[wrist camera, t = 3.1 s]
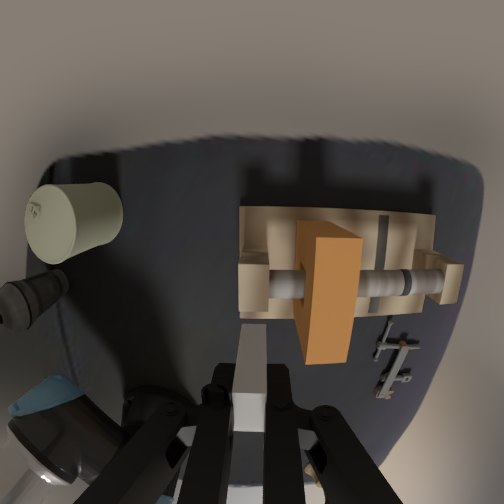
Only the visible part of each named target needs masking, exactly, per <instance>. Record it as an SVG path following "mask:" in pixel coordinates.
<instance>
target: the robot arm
mask: <svg viewBox="0 0 504 504" xmlns="http://www.w3.org/2000/svg"><path fill="white" fill-rule="evenodd" d="M201 396H202V404H200V405H198V406H193V405H192V404H191V403H190V402H189V401H188V400H186V399H185V398H184V397H182V396H180V395H178V394H177V393H175V392H172V391H170V390H167V389H164V388H160V387H155V386H142V387H138V388H135V389H133V390H132V391H131V392H130V393H129V394H128V396H127V397H126V399H125V401H124V404H123V409H122V421H121V427H120V426H119V425H118V424H117V423H116V422H114V421H113V420H112V419H111V418H110V417H109V416H108V415H106V414H105V413H104V412H103V411H102V410H101V409H100V408H99V407H98V406H97V405H96V404H95V403H94V402H93V401H92V400H91V399H90V398H89V397H88V396H87V395H86V394H85V391H83V390H81V389H80V388H79V387H78V386H77V385H76V384H75V383H74V382H73V381H72V380H71V379H70V378H69V377H68V376H66V375H65V374H62V373H55V374H53V375H51V376H50V377H48V378H47V379H46V380H44V381H43V382H41V383H40V384H39V385H38V386H36V387H35V388H33V389H32V390H31V391H29V392H28V393H27V394H25V395H24V396H22V397H21V398H20V399H18V400H17V401H16V402H14V403H13V404H12V405H10V406H9V407H8V412H9V414H10V416H11V417H13V419H12V420H11V421H10V422H9V423H8V424H7V433H8V441H7V442H6V444H5V445H4V446H3V447H2V448H1V449H0V504H41V503H42V502H43V501H44V499H45V498H46V497H47V496H48V494H49V493H50V492H51V491H52V489H53V488H54V487H55V486H56V485H71V484H72V483H73V482H74V481H75V479H76V478H77V477H79V478H80V479H82V480H83V481H85V482H86V483H87V484H89V485H90V486H89V487H88V488H87V489H86V490H85V491H84V492H83V493H82V494H81V496H80V497H79V498H78V499H77V500H76V501H75V502H74V503H73V504H171V503H172V502H173V500H174V499H173V496H174V492H175V488H176V484H177V480H178V476H179V472H180V468H181V465H182V463H183V461H184V460H185V458H186V457H187V455H188V453H189V452H190V454H189V458H188V462H187V466H186V470H185V474H184V477H183V481H182V485H181V489H180V494H179V497H178V501H177V504H226V499H227V491H228V482H229V474H230V465H231V456H232V448H233V430H234V431H254V432H264V447H263V448H264V467H263V504H306V502H305V492H304V481H303V472H302V462H301V453H300V449H304V451H305V453H306V455H307V457H308V459H309V461H310V464H311V466H312V468H313V470H314V472H315V474H316V476H317V478H318V480H319V482H320V484H321V486H322V488H323V490H324V492H325V494H326V496H327V498H328V500H329V502H330V504H403V503H402V502H401V500H400V499H399V497H398V496H397V495H396V493H395V492H394V491H393V489H392V487H391V486H390V484H389V483H388V482H387V480H386V479H385V477H384V476H383V474H382V473H381V472H380V470H379V469H378V467H377V466H376V464H375V463H374V461H373V460H372V459H371V457H370V456H369V454H368V453H367V451H366V450H365V448H364V447H363V445H362V444H361V443H360V441H359V440H358V438H357V437H356V435H355V434H354V432H353V431H352V429H351V428H350V426H349V425H348V423H347V422H346V421H345V419H344V418H343V416H342V415H341V413H340V412H339V411H338V410H337V409H336V408H335V407H332V406H328V405H322V406H318V407H316V408H315V409H314V410H313V411H311V410H305V409H302V408H300V407H298V406H297V405H295V404H294V402H293V400H292V393H291V384H290V377H289V369H288V368H287V367H286V365H285V364H267V363H266V324H242V327H241V334H240V341H239V348H238V354H237V361H236V364H233V363H219V364H218V365H217V366H216V367H215V369H214V373H213V377H212V381H211V384H207V385H206V386H204V387H203V388H202V390H201Z"/></svg>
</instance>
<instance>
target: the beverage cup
mask: <svg viewBox="0 0 504 504" xmlns="http://www.w3.org/2000/svg"><path fill="white" fill-rule="evenodd" d="M68 289H69V282H68V279H67V277H66V275H65V274H64V272H63V271H61V270H59V269H55V270H51V271H47V272H44V273H41V274H38V275H35V276H32V277H29V278H26V279H23V280H20V281H12V282H7V283H5V284H4V285H3V286H2V287H1V288H0V325H1V327H3V328H4V329H6V330H7V331H10V332H21V331H23V330H27V329H29V328H30V327H31V325H32V324H33V323H34V322H35V321H36V319H37V318H38V317H39V316H40V315H41V314H42V313H44V312H45V311H46V310H47V309H48V308H49V307H51V306H52V305H53V304H54V303H55V302H57V301H58V300H59V299H60V298H61V297H62V296H63V295H64V294H65V293H67V291H68Z"/></svg>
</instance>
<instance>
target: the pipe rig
mask: <svg viewBox="0 0 504 504" xmlns="http://www.w3.org/2000/svg"><path fill="white" fill-rule="evenodd" d="M435 218H436V215H430V214H419V213H406V212H393V211H378V210H362V209H342V208H318V207H283V206H240V207H239V229H240V260H239V264H238V278H239V311H240V318H255V319H294V315H293V300H294V299H302V298H304V295H305V280H306V270H295V262H296V237H297V220H308V221H330V222H332V223H334V224H336V225H338V226H340V227H342V228H344V229H346V230H348V231H350V232H351V233H353V234H355V235H357V236H359V237H361V238H363V245H362V256H361V267H360V276H359V284H358V292H357V300H356V307H355V313H354V317H363V316H380V315H394V314H406V313H418V312H422V307H423V303H424V298H425V294H426V295H427V296H429V297H430V298H432V299H433V300H434V301H436V302H437V303H438V304H450V303H456V302H457V298H458V294H459V289H460V284H461V279H462V274H463V268H464V264H462V263H460V262H458V261H456V260H453V259H451V258H449V257H447V256H444V255H442V254H440V253H437V252H435V251H433V250H432V249H433V240H434V230H435Z"/></svg>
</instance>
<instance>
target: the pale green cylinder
mask: <svg viewBox="0 0 504 504" xmlns="http://www.w3.org/2000/svg"><path fill="white" fill-rule="evenodd" d="M122 222H123V207H122V203H121V200H120V198H119V196H118V194H117V192H116V191H115V190H114V189H113V188H112V187H111V186H109V185H107V184H105V183H101V182H95V183H91V184H66V185H52V184H47V185H43V186H41V187H39V188H38V189H37V190H36V191H35V192H34V193H33V194H32V196H31V197H30V199H29V201H28V204H27V207H26V212H25V231H26V236H27V239H28V242H29V245H30V247H31V248H32V250H33V252H34V253H35V254H36V255H37V257H38V258H40V259H41V260H42V261H44V262H46V263H49V264H58V263H61V262H63V261H64V260H66V259H68V258H70V257H72V256H74V255H77V254H79V253H81V252H84V251H86V250H88V249H91V248H93V247H96V246H98V245H103V244H106V243H109V242H110V241H112V240H113V239H114V238H115V237H116V236H117V234H118V232H119V231H120V228H121V226H122Z"/></svg>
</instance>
